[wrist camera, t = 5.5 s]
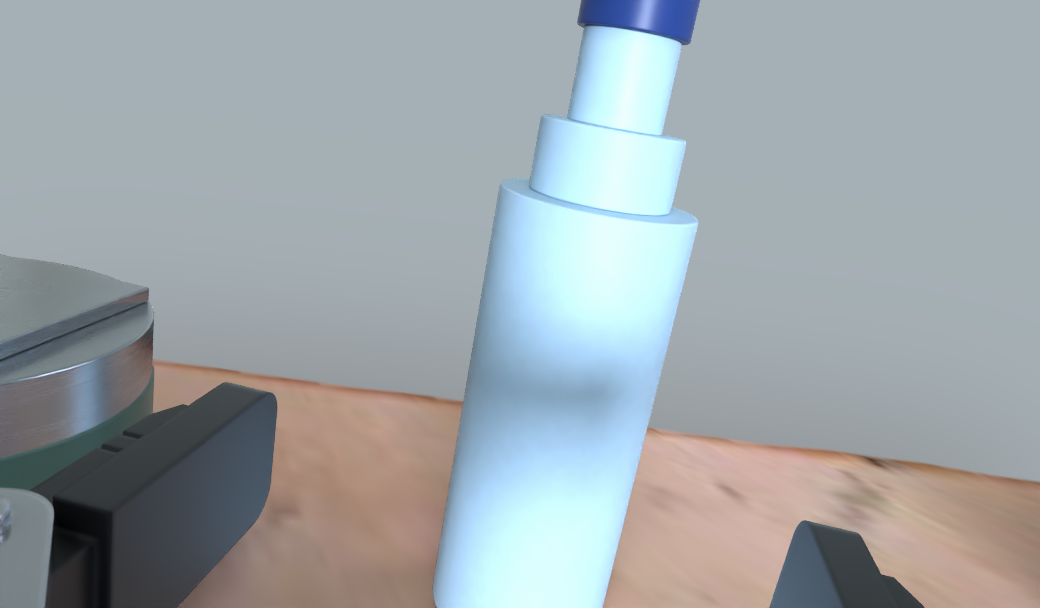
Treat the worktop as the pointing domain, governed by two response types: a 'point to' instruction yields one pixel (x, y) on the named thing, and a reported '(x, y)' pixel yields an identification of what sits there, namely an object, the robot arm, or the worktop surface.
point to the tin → (68, 365)
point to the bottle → (572, 328)
